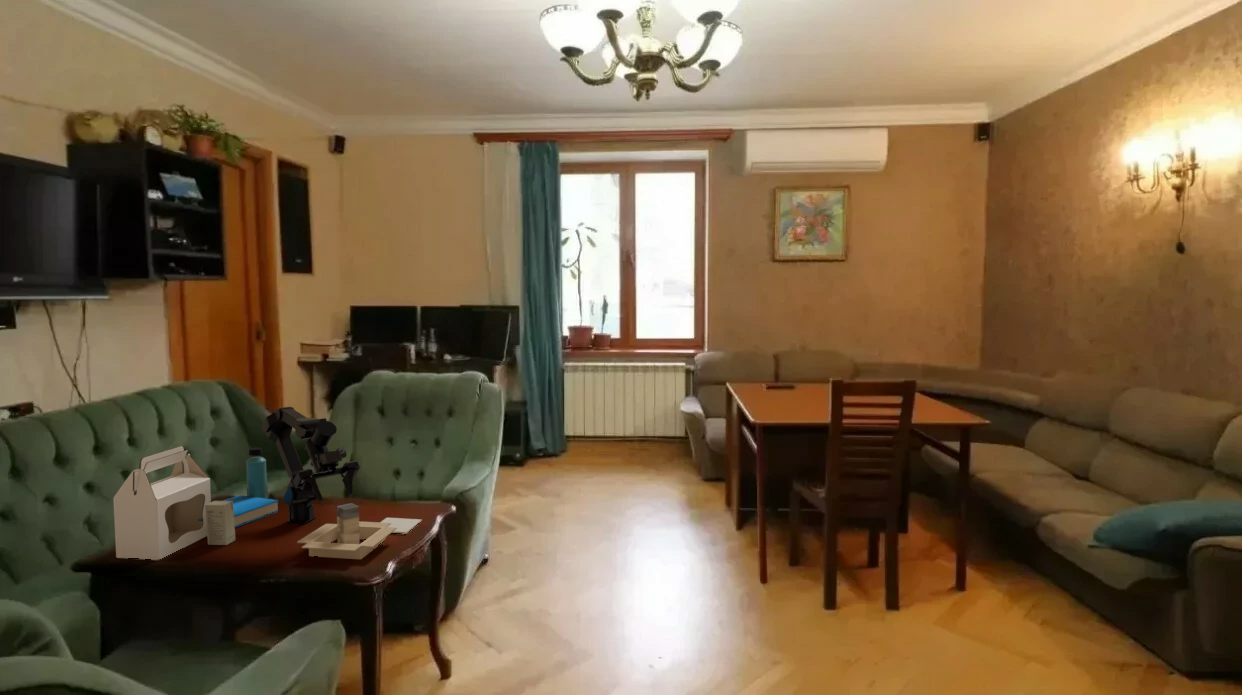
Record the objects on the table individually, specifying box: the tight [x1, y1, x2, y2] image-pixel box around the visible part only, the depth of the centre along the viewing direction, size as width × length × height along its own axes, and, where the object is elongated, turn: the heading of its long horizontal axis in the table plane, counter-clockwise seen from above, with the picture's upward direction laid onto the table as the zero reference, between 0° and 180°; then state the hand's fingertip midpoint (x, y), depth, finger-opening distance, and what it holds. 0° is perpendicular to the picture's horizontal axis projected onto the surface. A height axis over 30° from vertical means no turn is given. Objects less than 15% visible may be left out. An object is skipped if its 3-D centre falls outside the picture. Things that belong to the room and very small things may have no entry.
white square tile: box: [379, 517, 423, 535], centre depth 226 cm, size 12×12×1 cm
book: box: [198, 494, 279, 529], centre depth 230 cm, size 17×4×25 cm
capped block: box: [336, 502, 361, 545], centre depth 207 cm, size 4×4×12 cm
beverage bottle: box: [245, 447, 269, 499], centre depth 246 cm, size 6×7×20 cm
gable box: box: [112, 445, 212, 561], centre depth 207 cm, size 22×13×28 cm, turn 174°
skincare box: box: [205, 500, 236, 546], centre depth 210 cm, size 6×4×12 cm
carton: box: [296, 520, 397, 560], centre depth 208 cm, size 23×23×4 cm
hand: (336, 497), depth 212 cm, fingers open, 9 cm apart
